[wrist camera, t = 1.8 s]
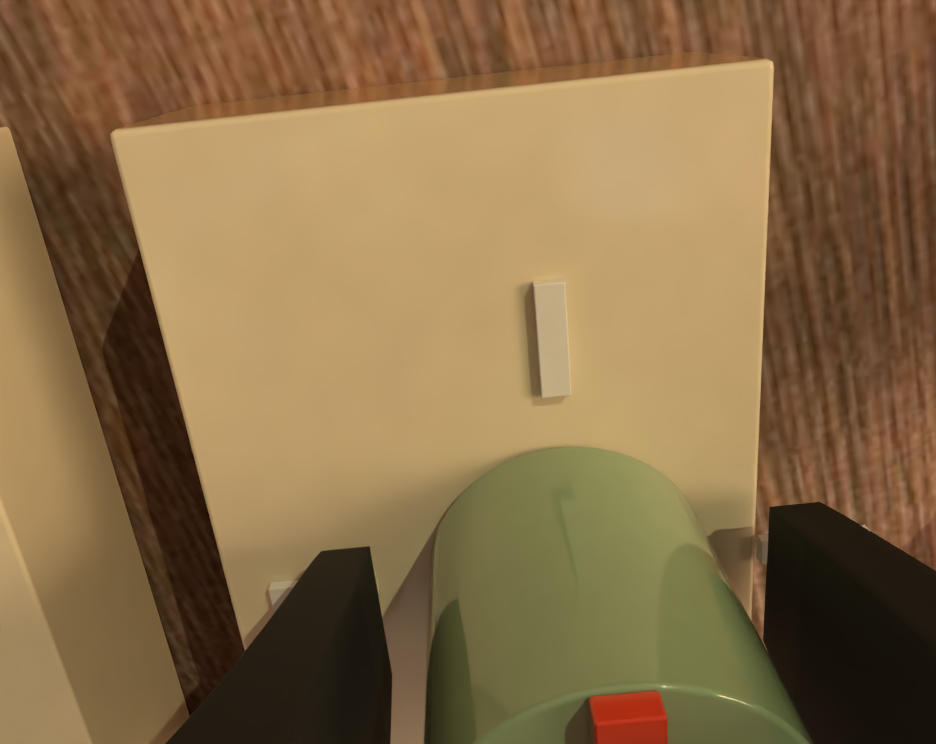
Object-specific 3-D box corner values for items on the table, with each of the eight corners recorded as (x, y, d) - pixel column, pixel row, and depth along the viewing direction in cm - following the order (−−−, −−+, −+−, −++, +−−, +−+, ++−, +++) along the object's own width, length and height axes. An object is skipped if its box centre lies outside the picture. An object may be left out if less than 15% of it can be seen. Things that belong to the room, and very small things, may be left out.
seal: (703, 661, 11) (838, 998, 7) (445, 686, 11) (443, 1032, 7) (705, 430, 10) (875, 695, 6) (412, 459, 10) (390, 739, 6)
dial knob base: (764, 708, 16) (835, 862, 13) (332, 748, 16) (306, 909, 13) (798, 39, 11) (922, 42, 8) (189, 106, 11) (98, 131, 8)
